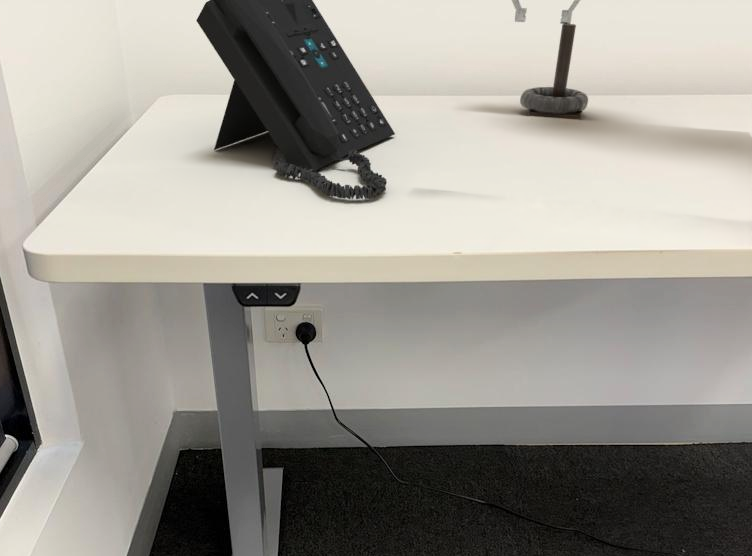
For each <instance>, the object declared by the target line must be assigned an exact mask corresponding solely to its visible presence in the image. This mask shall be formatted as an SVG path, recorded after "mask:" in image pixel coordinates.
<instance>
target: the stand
mask: <svg viewBox="0 0 752 556" xmlns="http://www.w3.org/2000/svg"><path fill="white" fill-rule="evenodd" d="M576 28H577V24H574V23H570V24H561V31H560V37H559V43H558V44H559V45H558V51H557V58H556V66H555V72H554V79H553V86H552V87H553V92H552V97H565V93H566V88H567V87H568V86H567V85H568V78H569V74H570V73H569V72H570V66H571V60H572V55H573V54H572V53H573V47H574V40H575V34H576ZM528 110H529V109H528ZM582 115H583V111H580V112H576V113H569V114H552V113H541V112H536V111H531V110H529V111H528V114H527V117H535V118H537V117H538V118H548V119H549V118H550V119H561V120H563V119H564V120H575V121H581V120H582Z"/></svg>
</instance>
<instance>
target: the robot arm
mask: <svg viewBox="0 0 752 556" xmlns="http://www.w3.org/2000/svg"><path fill="white" fill-rule="evenodd" d="M580 1H581V0H573V1H572V3H571V5H570V6H569V8H568V9H562V10H561V18H560V21H559V24H560V25H563V24H572V18H573V17H572V16H573V11H574V10H575V9H576V7H577V6H578V4H579V3H580ZM511 2H512V4H513V8H514V9H515V15H514V22H515V23H525V22H526V19H527V15H526V14H527V10H528V8H527V7H522V5H521V3H520V0H511Z"/></svg>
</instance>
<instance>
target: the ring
mask: <svg viewBox="0 0 752 556" xmlns="http://www.w3.org/2000/svg"><path fill="white" fill-rule="evenodd" d="M552 92H553V86H537V87H532V88H528V89H525V90H523V92H522V93H521V96H520V98H519V103H520V105H521V106H522V107H523V108H525V109H527V110H531V111H536V112H541V113H552V114H569V113H576V112H580V111H582V112H583V111H584V110H586V108H587V107H588V103H589V97H588V95H587V94H586V92H583V91H580V90H578V89H574V88H568V87H566V93H565V97H552Z"/></svg>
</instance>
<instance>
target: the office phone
mask: <svg viewBox="0 0 752 556" xmlns="http://www.w3.org/2000/svg"><path fill="white" fill-rule="evenodd" d="M195 21H196V23H197V24H198V26H199V27H200V29H201V31H202V32H203V34H204V35H205V37H206V38H207V40H208V41H209V43H210V44H211V46H212V47H213V49H214V51H215V52H216V53H217V55H218V56H219V58H220V59H221V61H222V63H223V64H224V66H225V68H226V69H227V71H228V72H229V74H230V75H231V77H232V78H233V83H232V87H231V90H230V94H229V97H228V100H227V104H226V107H225V110H224V115H223V118H222V121H221V125H220V128H219V131H218V134H217V138H216V142H215V144H214V148H213V151H216V150H219V149H222V148H224V147H227V146H230V145H233V144H235V143H239V142H242V141H244V140H247V139H250V138H253V137H256V136H259V135H262V134H264V133H267V132H268V134H269V136H270V137H271V139H272V140H273V141H274V147H273V151H272V157H271V163H272V164H273V165H274V170H275V171H276V172H277V175H279V176H280V177H282V176H283V177H286V179H288V178H290V177H292V179H293V181H294V180H295V179H296V178H297V179H298V180H299V179H300V181H302V182H305V181H306V182H308V183H311V185H313V186H314V187H316V188H317V191H320V192H321V193H322V194H324V195H326V196H327V197H331V198H333V197H334V198H335V197H337V198H338V199H343V200H345V199H348V200H353V199H354V198H355V200H360V199H361V200H363V199H364V200H371V199H372V198H377V197H378V196H379V195H381V193H383V192H385V191H387V187H386V186H387V183H388V181H387V178H385V177H384V176H383V174H379V172H374V171H373V170H372V169H371V166H372V163H371V162H370V159H369V158H368V157H367V156H366V155H365V154H361V153H359V150H361V149H364V148H366V147H369V146H371V145H373V144H375V143H376V144H377V142H381V141H382V140H385V139H388V138H390V137H393V136H394V135H396V133H395V131H394V130H393V128H392V126H391V125H390V123H389V122H388V120H387V118H386V117H385V115H384V114H383V112H382V110H381V108H380V107H379V105H378V104H377V102H376V101H375V99H374V96H373V95H372V94H371V92H370V91H369V89H368V87H367V86H366V85H365V83H364V81H363V79H362V78H361V76H360V74H359V73H358V71H357V70H356V68H355V67H354V65H353V63H352V62H351V60H350V58H349V57H348V55H347V53H346V52H345V51H344V48H343V47H342V45H341V44H340V43H339V41H338V39H337V38H336V35H334V33H333V31H332V29H331V27H330V26H329V24H328V23H327V22H326V20H325V18H324V16H323V15H322V13H321V12H320V10H319V8H318V7H317V5H316V4H315V2H314V0H207V1H206V2H205V3H204V5H203V7H202V9H201V10H200V13H199V15H198V17H197V18H196V20H195ZM241 140H242V141H241ZM276 147H277V148H278V150H279V151H280V153H281V154H282V156H283V157H282V158H279V159H278V157H277V155H276V149H277V148H276ZM345 156H347V157H346V158H343V157H345ZM336 161H349V163H351V165H352V166H353V165H355V166H356V167H357V173H358V175H359V177H360V178H361V180H362V181H364V183H366V185H363V186H362V187H361V186H360V185H359V184H356V185H354V186H352V185H350V184H344V185H341V184H340V182H337V183H335V182H333V181H332V180H330V179H328V178H326V176H325V175H322V173H320V171H317V170H319V169H321V168H324V167H326V166H328V165H329V164H331V163H334V162H336Z"/></svg>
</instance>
